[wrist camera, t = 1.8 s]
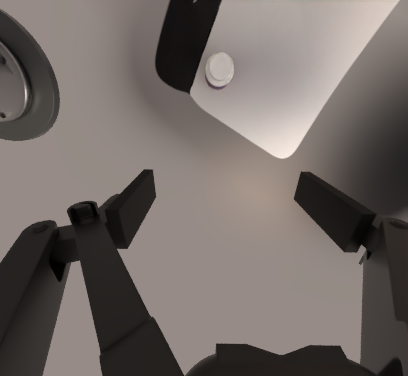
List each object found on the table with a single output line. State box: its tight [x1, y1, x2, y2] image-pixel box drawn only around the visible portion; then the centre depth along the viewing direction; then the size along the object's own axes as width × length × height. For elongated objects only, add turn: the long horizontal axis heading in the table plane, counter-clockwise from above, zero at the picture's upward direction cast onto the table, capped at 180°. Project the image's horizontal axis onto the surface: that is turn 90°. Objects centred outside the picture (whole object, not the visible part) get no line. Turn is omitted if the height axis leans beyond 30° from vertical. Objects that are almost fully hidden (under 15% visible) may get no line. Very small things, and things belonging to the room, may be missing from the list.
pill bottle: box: [205, 52, 234, 90], centre depth 29 cm, size 5×5×8 cm
